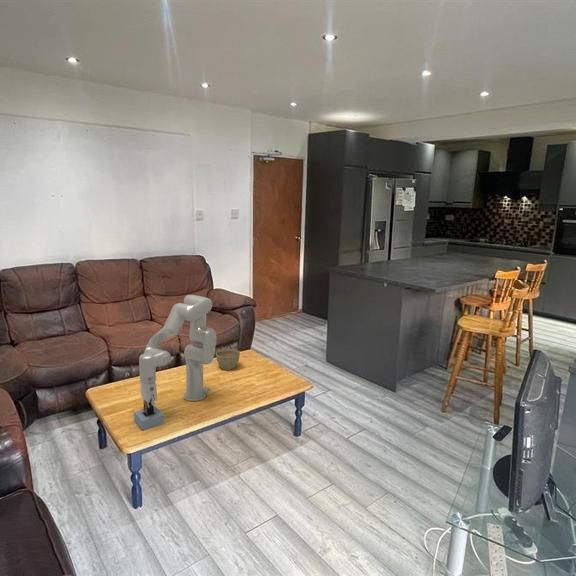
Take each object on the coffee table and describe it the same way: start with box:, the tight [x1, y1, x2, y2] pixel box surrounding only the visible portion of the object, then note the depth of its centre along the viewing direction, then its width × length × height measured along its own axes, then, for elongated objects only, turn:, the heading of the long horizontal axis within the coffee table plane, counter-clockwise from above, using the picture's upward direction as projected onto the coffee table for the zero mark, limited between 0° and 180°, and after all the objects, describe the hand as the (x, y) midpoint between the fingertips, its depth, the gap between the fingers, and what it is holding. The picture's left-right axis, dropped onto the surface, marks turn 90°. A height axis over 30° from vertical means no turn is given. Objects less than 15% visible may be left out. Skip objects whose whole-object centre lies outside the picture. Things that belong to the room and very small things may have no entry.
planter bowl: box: [215, 348, 241, 371], centre depth 281 cm, size 16×16×11 cm
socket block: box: [133, 405, 165, 431], centre depth 209 cm, size 11×11×5 cm
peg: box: [144, 400, 153, 417], centre depth 208 cm, size 4×4×12 cm
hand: (148, 411), depth 208 cm, fingers closed on peg, 3 cm apart
